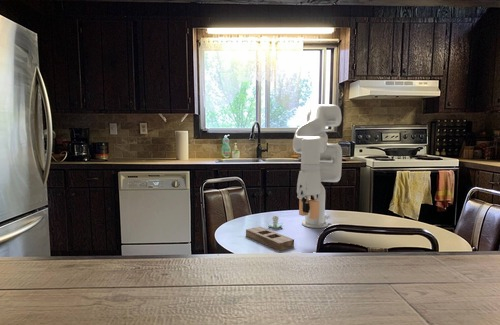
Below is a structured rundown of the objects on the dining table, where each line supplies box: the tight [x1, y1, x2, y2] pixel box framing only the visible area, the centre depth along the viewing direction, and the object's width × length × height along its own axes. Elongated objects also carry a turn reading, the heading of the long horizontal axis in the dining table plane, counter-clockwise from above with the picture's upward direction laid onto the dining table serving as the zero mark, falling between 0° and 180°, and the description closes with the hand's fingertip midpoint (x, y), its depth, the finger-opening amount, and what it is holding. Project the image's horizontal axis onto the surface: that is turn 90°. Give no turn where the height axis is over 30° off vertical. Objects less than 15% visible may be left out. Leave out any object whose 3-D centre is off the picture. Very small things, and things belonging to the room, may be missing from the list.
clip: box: [298, 197, 319, 219], centre depth 138 cm, size 3×8×7 cm, turn 37°
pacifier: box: [267, 215, 284, 229], centre depth 161 cm, size 7×6×6 cm
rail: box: [245, 226, 295, 251], centre depth 141 cm, size 8×22×3 cm, turn 37°
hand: (308, 211), depth 139 cm, fingers closed on clip, 3 cm apart
